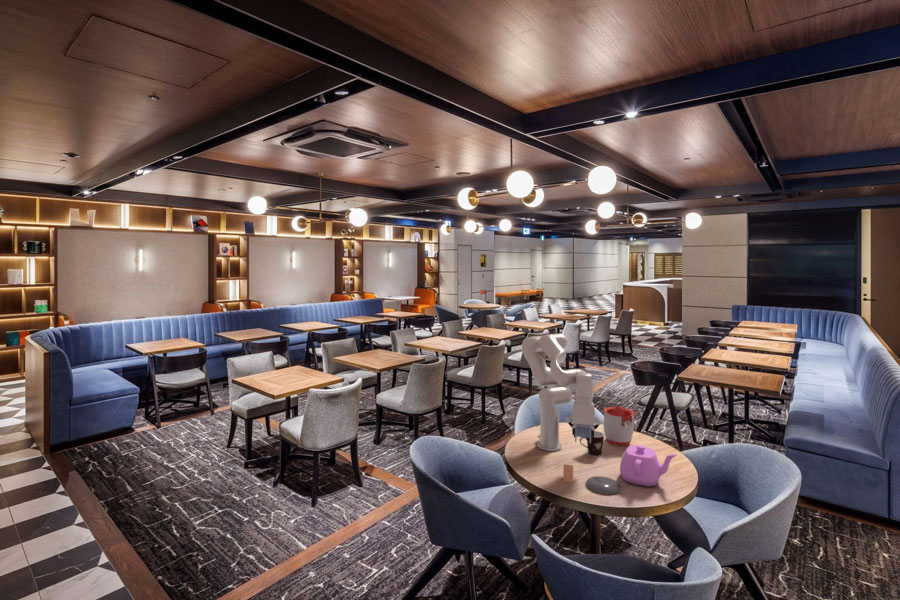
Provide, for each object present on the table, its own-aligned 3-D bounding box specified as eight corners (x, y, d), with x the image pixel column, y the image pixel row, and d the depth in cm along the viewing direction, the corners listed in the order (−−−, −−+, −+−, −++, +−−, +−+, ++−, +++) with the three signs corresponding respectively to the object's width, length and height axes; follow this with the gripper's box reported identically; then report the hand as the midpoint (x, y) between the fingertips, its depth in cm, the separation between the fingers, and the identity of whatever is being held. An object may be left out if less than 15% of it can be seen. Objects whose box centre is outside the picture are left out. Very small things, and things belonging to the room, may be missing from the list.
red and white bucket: (615, 450, 230) (616, 412, 228) (597, 437, 246) (597, 402, 245) (642, 447, 233) (643, 410, 231) (622, 435, 250) (623, 400, 248)
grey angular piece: (575, 435, 213) (575, 419, 212) (590, 437, 211) (591, 420, 210) (575, 441, 206) (575, 424, 206) (590, 443, 204) (591, 426, 204)
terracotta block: (563, 477, 202) (563, 464, 201) (572, 478, 201) (573, 465, 200) (563, 481, 198) (563, 468, 197) (572, 482, 197) (572, 469, 196)
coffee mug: (603, 450, 229) (604, 431, 229) (603, 457, 221) (604, 438, 220) (580, 447, 233) (580, 429, 232) (579, 454, 225) (579, 435, 224)
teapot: (615, 487, 193) (616, 453, 191) (622, 467, 211) (623, 436, 210) (675, 500, 182) (676, 464, 181) (676, 478, 200) (678, 445, 199)
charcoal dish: (579, 482, 197) (579, 480, 197) (604, 476, 202) (604, 474, 202) (602, 497, 184) (602, 495, 184) (627, 490, 190) (628, 488, 190)
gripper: (564, 400, 206) (563, 438, 207) (603, 403, 201) (603, 442, 203) (564, 396, 213) (564, 432, 215) (603, 398, 208) (602, 436, 210)
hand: (583, 436), depth 209 cm, fingers closed on grey angular piece, 7 cm apart
